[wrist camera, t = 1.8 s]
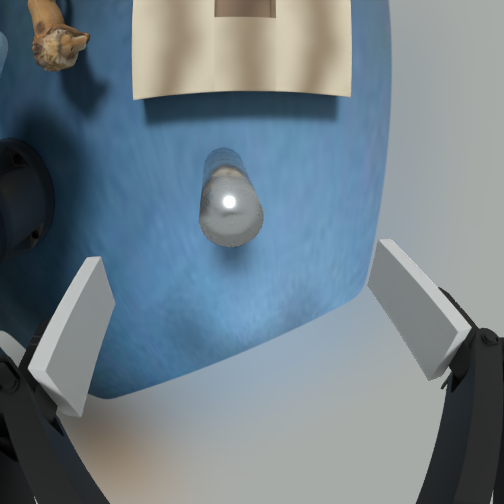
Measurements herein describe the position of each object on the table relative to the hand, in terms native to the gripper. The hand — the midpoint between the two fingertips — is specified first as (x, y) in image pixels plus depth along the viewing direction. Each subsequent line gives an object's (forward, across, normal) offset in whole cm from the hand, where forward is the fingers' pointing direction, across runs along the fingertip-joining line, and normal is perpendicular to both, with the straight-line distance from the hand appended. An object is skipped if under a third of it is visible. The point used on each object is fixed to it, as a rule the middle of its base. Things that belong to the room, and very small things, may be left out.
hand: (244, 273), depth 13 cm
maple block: (+20, +2, +18) cm, 27 cm away
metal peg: (+20, 0, 0) cm, 20 cm away
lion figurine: (+20, -16, +19) cm, 32 cm away
